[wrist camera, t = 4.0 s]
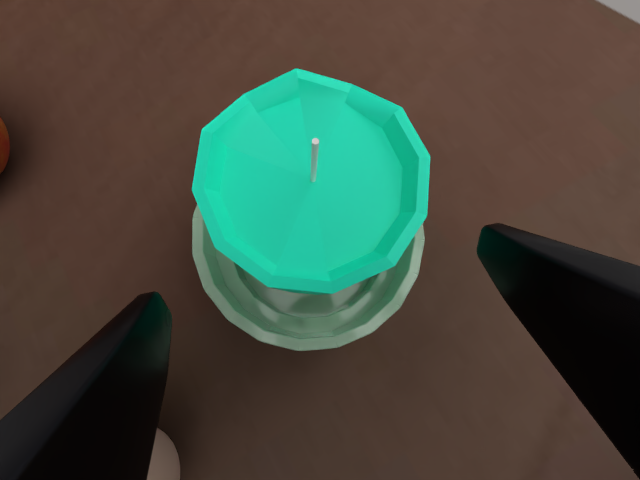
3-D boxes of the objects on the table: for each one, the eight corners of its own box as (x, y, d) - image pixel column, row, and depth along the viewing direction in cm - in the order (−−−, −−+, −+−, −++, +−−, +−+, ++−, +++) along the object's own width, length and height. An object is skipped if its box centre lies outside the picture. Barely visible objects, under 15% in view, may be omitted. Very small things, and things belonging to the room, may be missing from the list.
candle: (379, 251, 18) (524, 166, 6) (300, 317, 17) (289, 367, 5) (316, 176, 18) (335, -33, 7) (237, 235, 18) (97, 114, 6)
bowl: (337, 373, 17) (349, 400, 12) (183, 272, 17) (142, 264, 13) (425, 219, 19) (462, 196, 14) (284, 133, 19) (277, 85, 15)
